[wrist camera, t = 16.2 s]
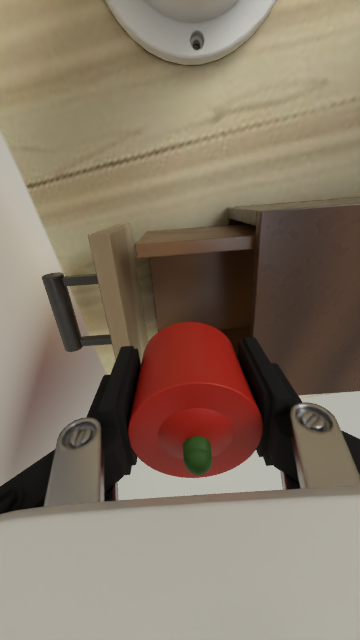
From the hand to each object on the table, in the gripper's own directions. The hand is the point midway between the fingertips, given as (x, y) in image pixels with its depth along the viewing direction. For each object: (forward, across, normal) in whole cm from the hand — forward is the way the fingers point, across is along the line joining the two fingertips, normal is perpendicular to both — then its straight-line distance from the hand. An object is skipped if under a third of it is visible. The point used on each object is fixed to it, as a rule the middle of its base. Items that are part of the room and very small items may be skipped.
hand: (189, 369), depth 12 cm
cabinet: (+13, -11, 0) cm, 17 cm away
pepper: (+1, 0, 0) cm, 1 cm away
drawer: (+12, +1, 0) cm, 12 cm away
